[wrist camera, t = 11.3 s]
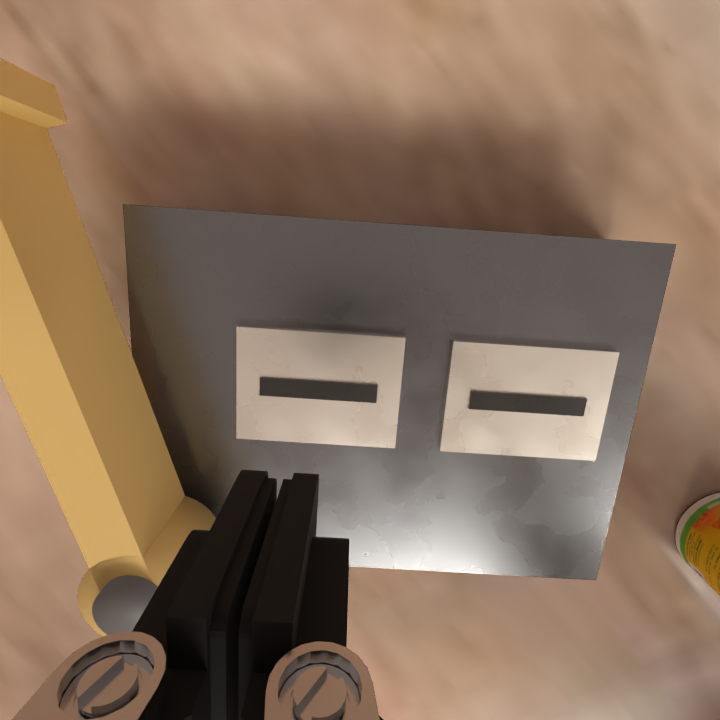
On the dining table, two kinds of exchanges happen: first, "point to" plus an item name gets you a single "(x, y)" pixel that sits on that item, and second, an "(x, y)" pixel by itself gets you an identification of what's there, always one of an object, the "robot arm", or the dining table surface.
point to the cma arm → (80, 374)
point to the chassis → (400, 377)
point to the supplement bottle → (702, 539)
